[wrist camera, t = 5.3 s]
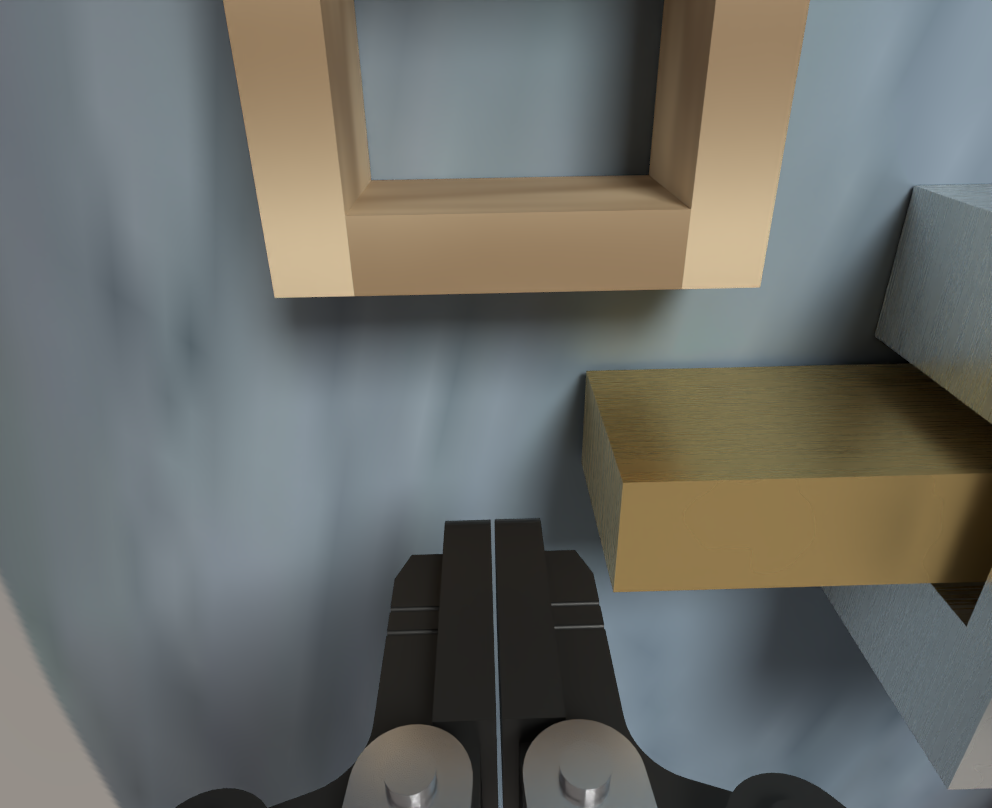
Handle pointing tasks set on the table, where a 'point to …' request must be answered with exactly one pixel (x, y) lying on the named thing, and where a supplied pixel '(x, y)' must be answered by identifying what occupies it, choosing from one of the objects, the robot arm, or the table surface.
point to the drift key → (786, 477)
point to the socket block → (988, 391)
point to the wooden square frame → (527, 200)
